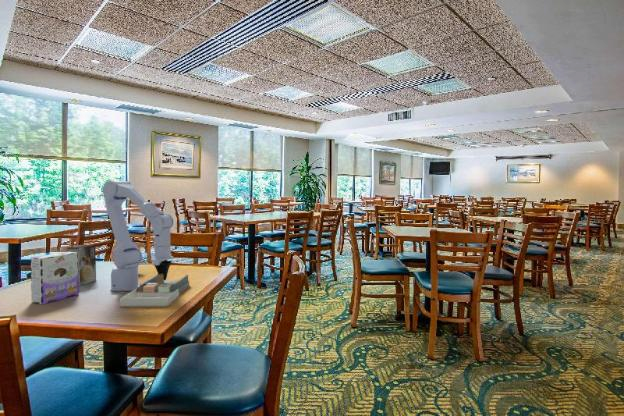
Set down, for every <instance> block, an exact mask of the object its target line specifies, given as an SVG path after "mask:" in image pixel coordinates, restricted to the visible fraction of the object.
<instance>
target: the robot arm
mask: <svg viewBox="0 0 624 416" xmlns="http://www.w3.org/2000/svg"><path fill="white" fill-rule="evenodd" d="M101 192H102V194H103V198H104V204H105V209H106V212H107V215H108V219H109V222H110V226H111V229H112V232H113V237H114V240H115V243H116V247H114V249H113V250H112V253H113V257H112V258H113V264H114V265H115V267H113V268H112V270H111V273H110V288H111V289H110V292H111V291H113V292H117V291H119V292H122V291H124V292H125V291H128V292H131V291H133V290H135V289H136V290H137V289H140V284H139V266H140V263H141V262H142V261H143V253H142V251H141V249H140V248H139V245H137V243H135V242H134V241H132V238H131V235H130V231H129V228H128V224H127V221H126V218H125V215H124V214H125V213H124V211H123V208H122V205H123V203H124V202H125V201H127V199H128V200H130V201H131V202H132V203H133V204H134V205H136V206H137V207H138V208H140V213H141V214H142V215H143V216H144V217H145V218H146V219H147V220H148V221H149V222H150V226H151V228H152V230H153V234H154V257H153V261H152V263H153V266H154V268H155V270H156V272H157V274H158V273H164V281H167V278H168V274H169V269H170V266H171V264H172V260H173V259H174V256H172V253H171V228H173V226H174V219H173V216H172V215H171V214H168V213H165V212H164V211H163V210H162V209H160V208H159V207H158V206H157V204H156V203H155V202H153V201H152V202H150V201H147V200H146V199H145V198H144V197H143V196H142V195H141V194H140V193H139V192H138V191H137V190H136V185H134V184H133V183H131V182H130V181H129V180H125V181H123V180H122V181H121V180H107V181H105V183H104V184H103V186H102V188H101ZM133 242H134V243H135V244H134V243H133ZM138 248H139V249H140V250H139V249H138Z"/></svg>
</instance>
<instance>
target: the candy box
mask: <svg viewBox="0 0 624 416" xmlns="http://www.w3.org/2000/svg"><path fill="white" fill-rule="evenodd" d="M30 279H31V280H30V281H31V286H30V287H31V288H30V289H31V303H34V304H37V305H38V304H39V305H46V304H49V303H51V302H53V303H54V302H56V301H59V300H63V299H66V298H71V297H74V296H78V295H79V294H80V287H79V281H78V252H67V251H65V252H64V251H63V252H57V253H51V254H50V253H49V254H44V255H37V256H32V257H30Z"/></svg>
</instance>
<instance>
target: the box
mask: <svg viewBox="0 0 624 416" xmlns="http://www.w3.org/2000/svg"><path fill="white" fill-rule="evenodd" d="M179 297H180V294H179V289H177V290H176V291H174V292H144V293H139V292H137V289H135V290H133V291H129V292H128V293H126V294H125V295H123V296H122V297H120V298H119V299H120V301H119V303H120V306H119V307H120V308H121V307H122V308H126V307H127V308H131V307H132V308H135V307H136V308H139V307H142V308H145V307H152V308H153V307H154V308H155V307H158V308H159V307H160V308H161V307H166V308H167V307H169V306H170V305H171V304H172V303H174V302H175V301H176V300H177V299H178V298H179Z"/></svg>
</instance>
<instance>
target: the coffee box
mask: <svg viewBox="0 0 624 416" xmlns="http://www.w3.org/2000/svg"><path fill="white" fill-rule="evenodd" d="M66 252H78V281H79V286H83V285H86V284H89V283H92V282H96V281H97V263H96V261H97V260H96V259H97V257H96V245H95V244H80V245H79V244H78V245H72V246H67V247H66Z"/></svg>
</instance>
